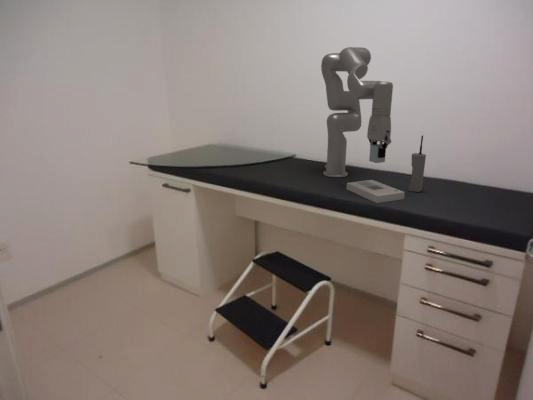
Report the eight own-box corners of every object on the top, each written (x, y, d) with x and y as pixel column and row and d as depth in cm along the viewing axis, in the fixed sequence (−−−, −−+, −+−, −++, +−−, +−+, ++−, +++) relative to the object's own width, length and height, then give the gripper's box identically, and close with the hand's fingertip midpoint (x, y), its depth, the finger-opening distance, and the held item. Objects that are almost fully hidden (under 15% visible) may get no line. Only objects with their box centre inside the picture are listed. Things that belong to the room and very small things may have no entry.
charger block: (369, 161, 172) (370, 144, 170) (377, 160, 174) (379, 144, 172) (375, 163, 168) (377, 146, 166) (384, 162, 170) (386, 145, 168)
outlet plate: (346, 189, 183) (346, 182, 182) (371, 185, 188) (372, 179, 187) (377, 203, 163) (377, 195, 162) (404, 199, 169) (404, 191, 168)
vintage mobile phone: (410, 188, 183) (416, 134, 176) (421, 190, 180) (428, 135, 173) (407, 190, 181) (413, 135, 173) (418, 192, 178) (425, 136, 170)
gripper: (361, 111, 171) (358, 153, 176) (387, 115, 156) (383, 161, 162) (375, 110, 174) (372, 152, 179) (402, 114, 159) (398, 159, 164)
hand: (377, 156), depth 170 cm, fingers closed on charger block, 4 cm apart
